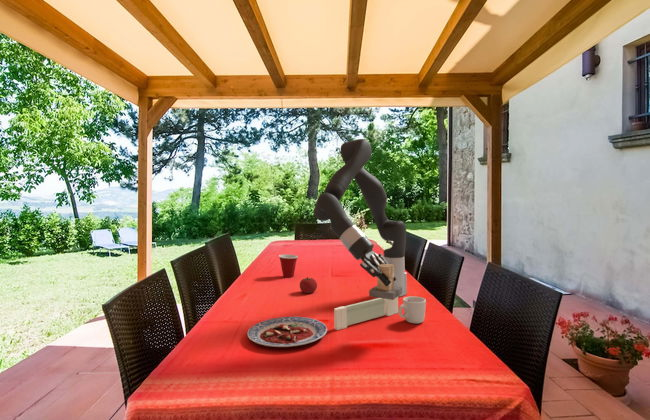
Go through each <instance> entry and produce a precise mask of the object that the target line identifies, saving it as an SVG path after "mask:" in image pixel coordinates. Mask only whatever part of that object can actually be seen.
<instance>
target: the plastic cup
mask: <svg viewBox="0 0 650 420" xmlns="http://www.w3.org/2000/svg"><path fill="white" fill-rule="evenodd" d="M278 257H279V261H280V267H281V272H282V277H283V276H284V277H283V278H285V277H286V278H288V279H291V278H294V276H295V270H296V265H297V260H298V258H299V256H298V255H296V254H288V253H287V254H279V255H278Z"/></svg>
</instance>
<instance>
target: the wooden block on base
mask: <svg viewBox="0 0 650 420" xmlns="http://www.w3.org/2000/svg"><path fill="white" fill-rule="evenodd" d="M379 267H380V269H381V270H382V271H383V273H384V274H385V275H386V276H387V277H388V278H389V279H390V280H391V283H390V284H389V285H388V286H385V285H384V284H383V282H382V281H381V280H380V279H379V278H377V277H376V278H377V279H376V280H377V281H376V283H377V285H376V286H373V287H372V288H370V289H369V290H368V297H370V298H371V297H372V298H376V299H377V298H384V299H391V300H394V299H395V298H397V297H398V298H399V297H400V296H399V295H401V294H402V287H396V286H394V265H391V264H380V266H379Z"/></svg>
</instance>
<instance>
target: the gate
mask: <svg viewBox="0 0 650 420" xmlns="http://www.w3.org/2000/svg"><path fill="white" fill-rule="evenodd" d="M344 307H346V308H347V327H348V326H351V325H355V324H358V323H362V322H365V321H368V320H373V319H376V318H380V317H383V316H386V315H385V300H384V298H377V297H376V298H372V299H369V300H365V301H360V302H357V303H352V304H349V305H348V304H347V305H345V306H344Z"/></svg>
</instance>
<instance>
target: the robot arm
mask: <svg viewBox="0 0 650 420" xmlns="http://www.w3.org/2000/svg"><path fill="white" fill-rule="evenodd" d="M372 150H373V149H372V146H371V144H370V142H369V141H368V140H367V139H366V138H359V139H355V140H349V141H346V142H343V143H342V144H341V146H340V156H341V158H342V160H343V163H344V165H342V166H340V168H339V169H338V170H336V172H334V173H333V175H332V176H331V177H330V179H329V181H328V183H327V184H326V186H325V189H324V191H323V192H322V193H321V194H320V195H318V197H317V199H316V202H315V204H314V205H315V206H314V207H313V214H314V217H315V218H316V219H317V220H319V221H320V222H326V221H330V229H331V231H332V232H333V234H335V236H336V237H337V238H338V239H339V240H340V242H341V243H342V245H343V246H344V247H345V249H347V251H348V252H349V253H350V254H351V255H352V256H353V258H354V259H356V260H357V261H359V260H361V262H360V263H359V265H360V267H361V268H362V269H364V271H366V272H367V274H369V275H370V276H371V277H373V278H379V279H380V280H381V281H382V282H383V284H384V285H385V286H388V285H389V284H390V283H391V280H390V279H389V278H388V277H387V276H386V275H385V274H384V273H383V271H382V270H381V269H380V267H379V266H380V264H391V265H394V286H396V287H402V294H401V295H399V296H398V297H404V296H405V295H407V294H408V293H407V292H408V288H407V286H408V284H407V283H408V281H407V278H408V277H407V276H408V275H407V272H406V270H405V269H406V268H405V266H406V265H405V254H406V248H407V247H406V246H407V228H406V224H405V223H404V221H402V220H390V219H388V217H387V214H386V207H387V203H388V196H387V192H386V190H385V188H384V186H383V183H382V182H381V181H380V180H379V179H378V178H377V177H375V176H374V175H373V174H371V173H370V172H369V171H367V169H365V167H364V166H365V165H366V164H367V163H368V162H369V160H370V159H371V157H372ZM353 180H355V183H356V184H357V187H358V189H359V190H360V192H361V194H362V197H363V199H364V201H365V203H366V205H367V207H368V209H369V211H370V213H371V215H372V217H373V220H374V223H375V225H376V228H377V230H378V231H377V232H378V234H379V235H380V238H382V240H383V241H388V242H392V246H391V247H388V248H385V249H384V250H383V253H380V252H379V254H378V253H376V251H374V250H373V248H374V246H375V245H374V243H373V242H372V241H371V240H370V239H369V238H368V237H367V236H366V234H365V233H364V232H363V231H362V229H360V228H359V227H358V226H357V225H355V223H354V222H353V221H352V220H351V219H350V217H349V216H348V215H347V213H346V211H345V209H344V207H343V206H342V204H341V202H340V201H341V199H342V198H343V196H344V195H345V193H346V192H347V191H348V188H349V186H350V184H351V182H352V181H353Z"/></svg>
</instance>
